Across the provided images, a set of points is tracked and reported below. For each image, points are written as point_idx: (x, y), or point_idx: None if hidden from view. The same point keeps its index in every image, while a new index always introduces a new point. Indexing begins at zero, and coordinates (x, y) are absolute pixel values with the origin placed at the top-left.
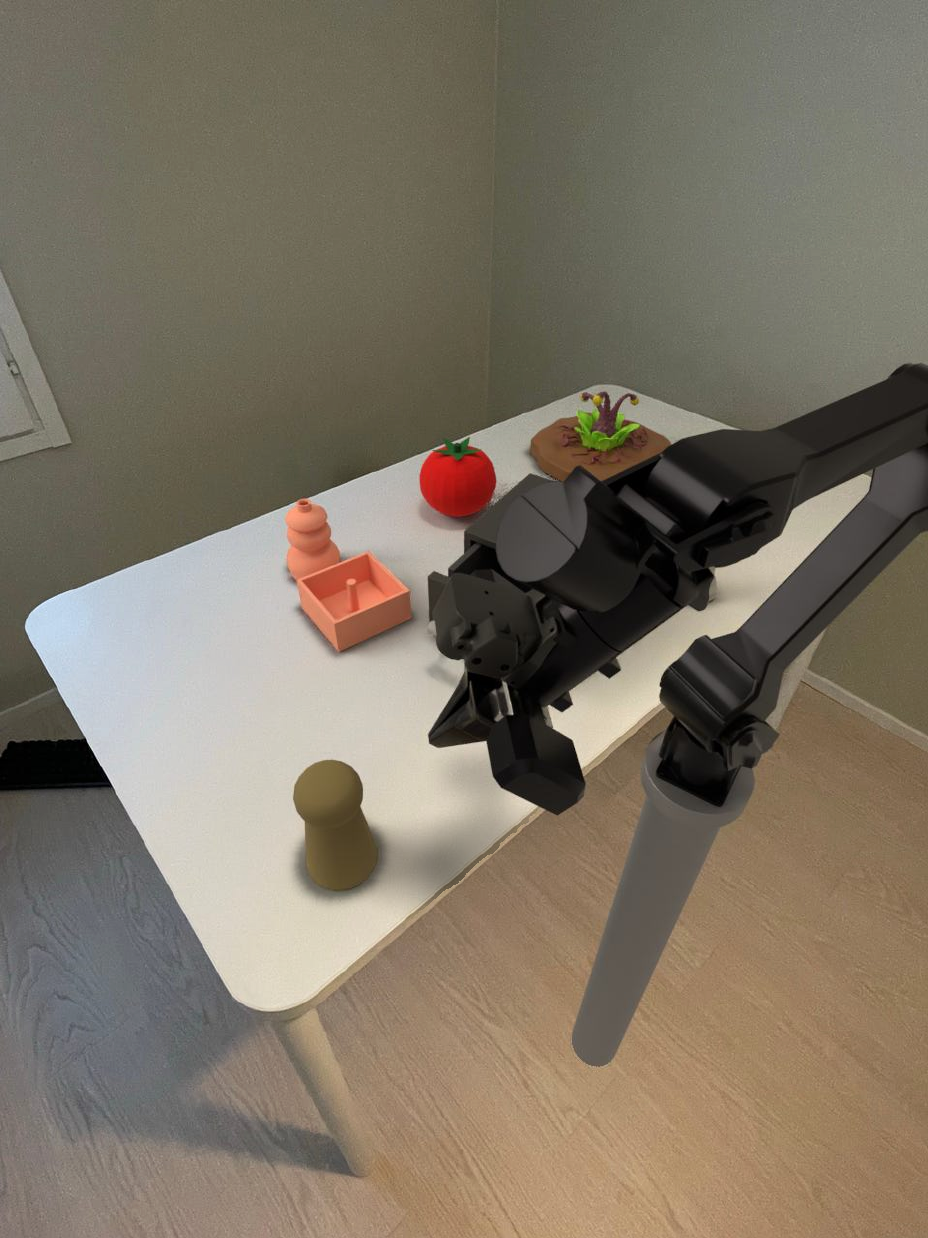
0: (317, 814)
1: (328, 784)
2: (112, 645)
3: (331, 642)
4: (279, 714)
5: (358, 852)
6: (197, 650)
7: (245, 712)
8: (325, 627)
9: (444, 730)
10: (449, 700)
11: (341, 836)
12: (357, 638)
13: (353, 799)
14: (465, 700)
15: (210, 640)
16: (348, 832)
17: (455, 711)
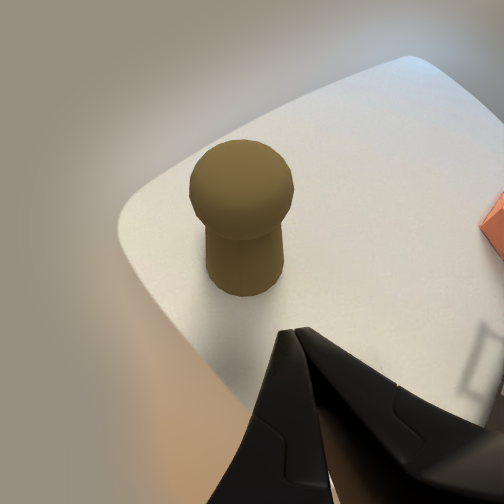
0: (192, 172)
1: (231, 170)
2: (417, 81)
3: (485, 219)
4: (403, 181)
5: (216, 264)
6: (437, 122)
7: (396, 155)
8: (495, 208)
9: (273, 374)
10: (387, 383)
11: (208, 230)
12: (496, 242)
13: (214, 215)
14: (371, 455)
15: (449, 130)
16: (213, 237)
17: (340, 411)
